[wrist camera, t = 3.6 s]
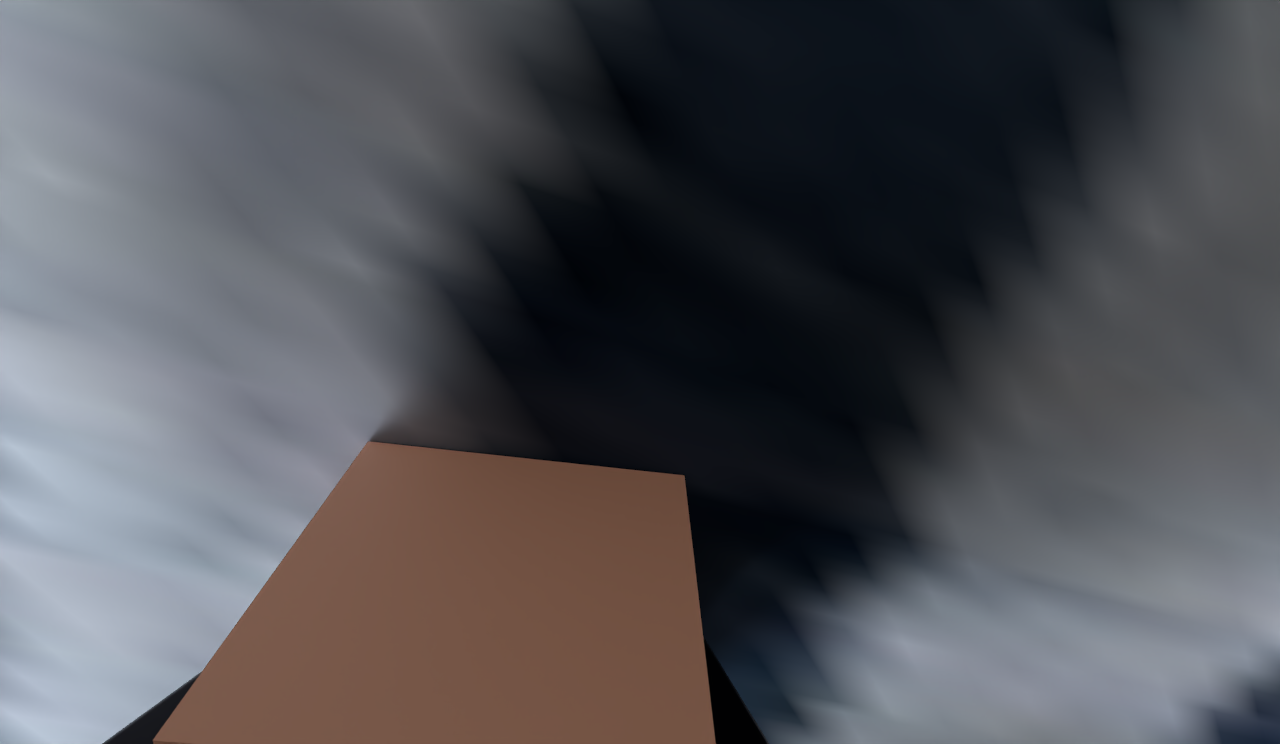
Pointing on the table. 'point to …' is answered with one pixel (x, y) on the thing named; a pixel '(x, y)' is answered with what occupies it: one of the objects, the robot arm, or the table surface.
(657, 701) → the block
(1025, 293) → the table surface
